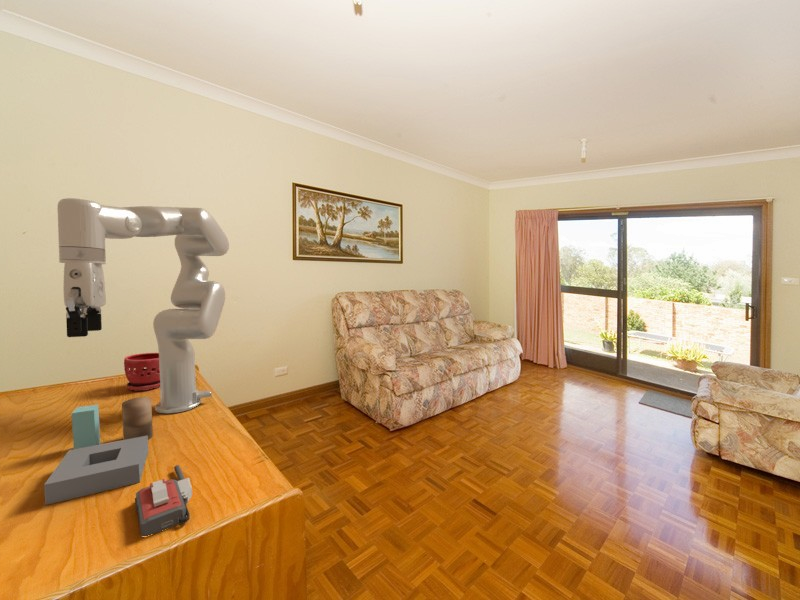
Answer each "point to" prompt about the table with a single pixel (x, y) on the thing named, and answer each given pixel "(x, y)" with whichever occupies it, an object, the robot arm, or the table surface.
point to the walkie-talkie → (163, 504)
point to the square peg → (86, 426)
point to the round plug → (137, 418)
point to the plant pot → (142, 371)
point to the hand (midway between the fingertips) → (85, 333)
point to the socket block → (97, 469)
